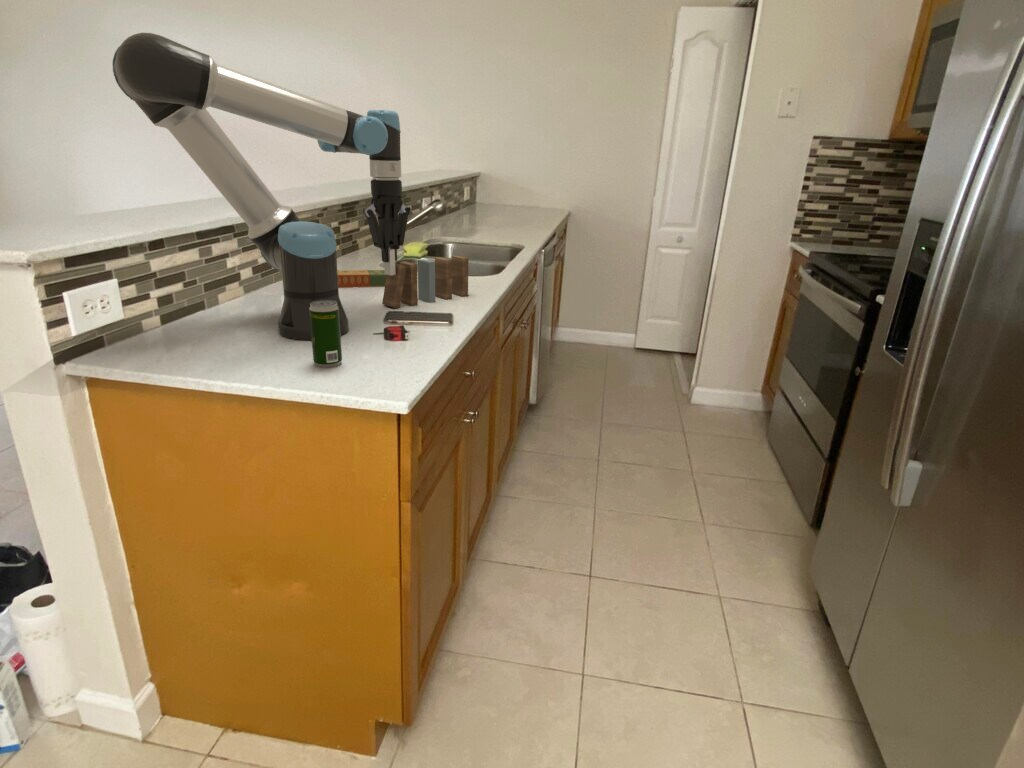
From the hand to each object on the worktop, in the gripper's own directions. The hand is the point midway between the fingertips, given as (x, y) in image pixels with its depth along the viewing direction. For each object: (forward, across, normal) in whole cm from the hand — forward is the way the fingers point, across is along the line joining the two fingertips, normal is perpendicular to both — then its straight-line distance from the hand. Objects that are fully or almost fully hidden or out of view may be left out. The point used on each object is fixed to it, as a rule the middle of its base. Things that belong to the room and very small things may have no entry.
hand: (390, 274), depth 161 cm
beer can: (+9, -36, -30) cm, 47 cm away
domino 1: (+8, 0, 0) cm, 8 cm away
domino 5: (+9, +24, 0) cm, 26 cm away
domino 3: (+9, +12, 0) cm, 15 cm away
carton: (+9, +9, +28) cm, 31 cm away
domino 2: (+9, +6, 0) cm, 10 cm away
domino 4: (+9, +18, 0) cm, 20 cm away
